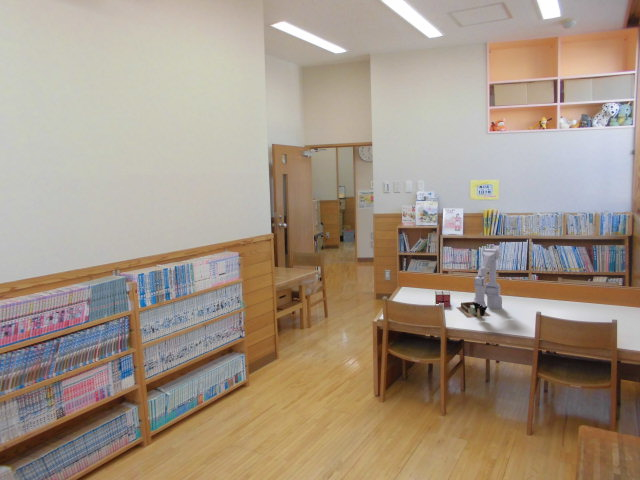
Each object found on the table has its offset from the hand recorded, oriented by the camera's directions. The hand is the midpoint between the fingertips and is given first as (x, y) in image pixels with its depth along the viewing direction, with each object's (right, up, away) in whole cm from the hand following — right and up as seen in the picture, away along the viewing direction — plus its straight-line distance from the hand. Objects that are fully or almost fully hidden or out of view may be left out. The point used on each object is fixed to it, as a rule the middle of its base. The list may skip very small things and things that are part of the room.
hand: (479, 314), depth 309 cm
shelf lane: (-1, -1, +12) cm, 12 cm away
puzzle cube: (-17, +1, +30) cm, 35 cm away
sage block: (0, -1, +5) cm, 5 cm away
